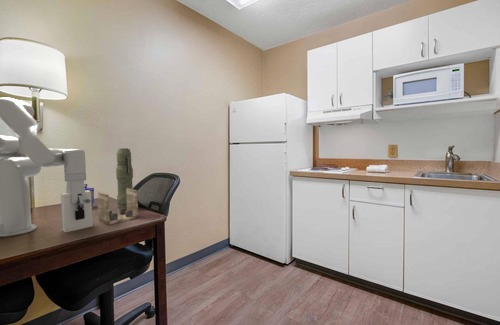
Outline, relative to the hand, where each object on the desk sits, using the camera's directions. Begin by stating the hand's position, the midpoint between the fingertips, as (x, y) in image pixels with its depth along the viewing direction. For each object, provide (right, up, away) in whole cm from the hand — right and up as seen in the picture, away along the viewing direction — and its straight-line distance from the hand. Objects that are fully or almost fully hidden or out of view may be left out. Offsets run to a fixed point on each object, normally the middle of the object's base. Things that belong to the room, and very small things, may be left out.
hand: (77, 217), depth 104 cm
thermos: (+1, -3, +38) cm, 38 cm away
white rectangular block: (0, -5, 0) cm, 5 cm away
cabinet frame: (+11, -4, +13) cm, 18 cm away
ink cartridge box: (-21, -3, +33) cm, 39 cm away
